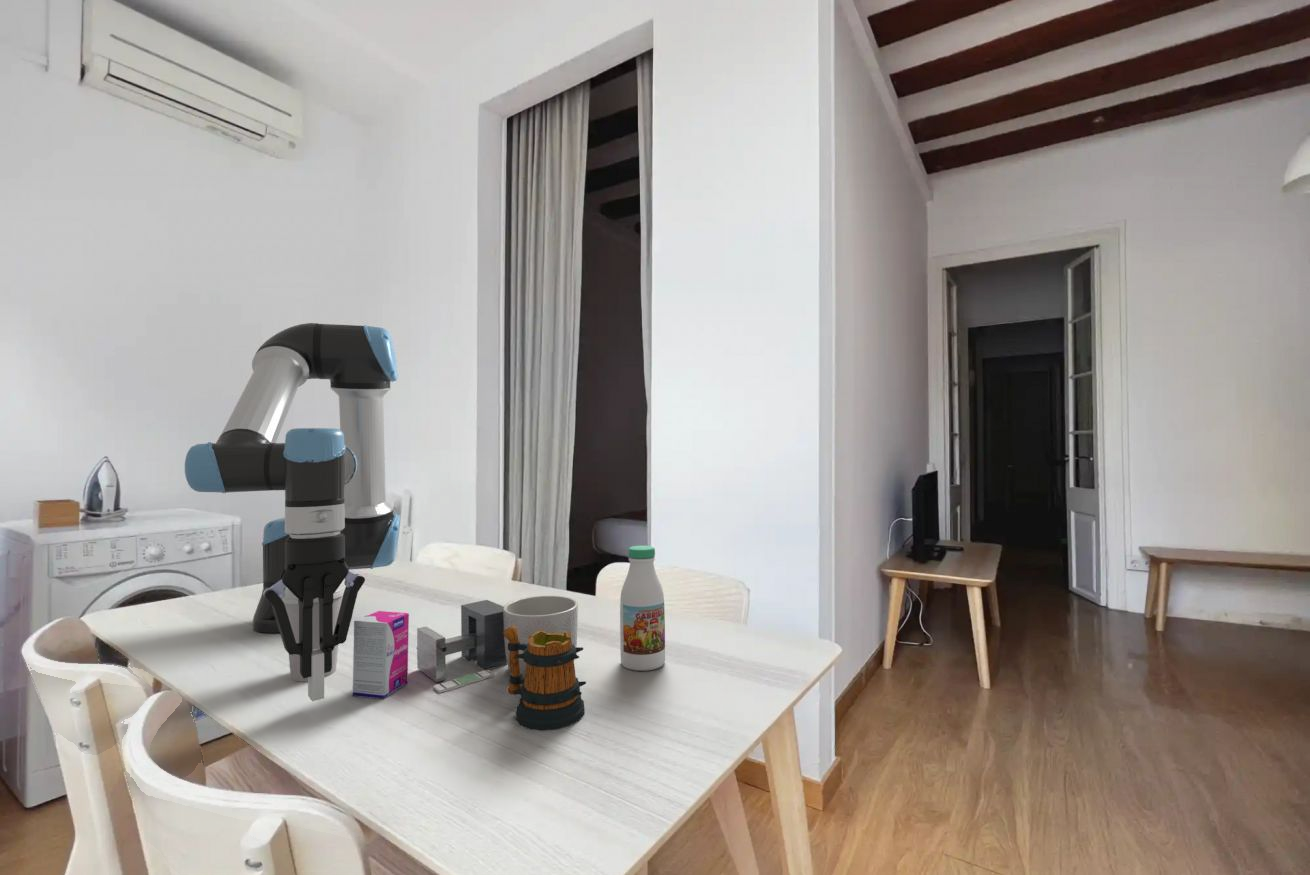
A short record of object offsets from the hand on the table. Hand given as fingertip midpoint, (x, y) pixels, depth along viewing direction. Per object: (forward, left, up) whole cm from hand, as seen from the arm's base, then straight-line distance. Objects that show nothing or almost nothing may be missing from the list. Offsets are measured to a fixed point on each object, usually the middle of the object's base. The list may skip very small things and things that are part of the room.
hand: (316, 696), depth 82 cm
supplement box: (0, +9, -2) cm, 9 cm away
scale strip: (+6, +19, -2) cm, 21 cm away
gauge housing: (0, +26, -2) cm, 26 cm away
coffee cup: (-15, +3, -2) cm, 15 cm away
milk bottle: (+21, +45, -2) cm, 50 cm away
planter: (+11, +31, -2) cm, 33 cm away
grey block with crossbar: (+1, +22, -1) cm, 22 cm away
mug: (+24, +23, -2) cm, 33 cm away
